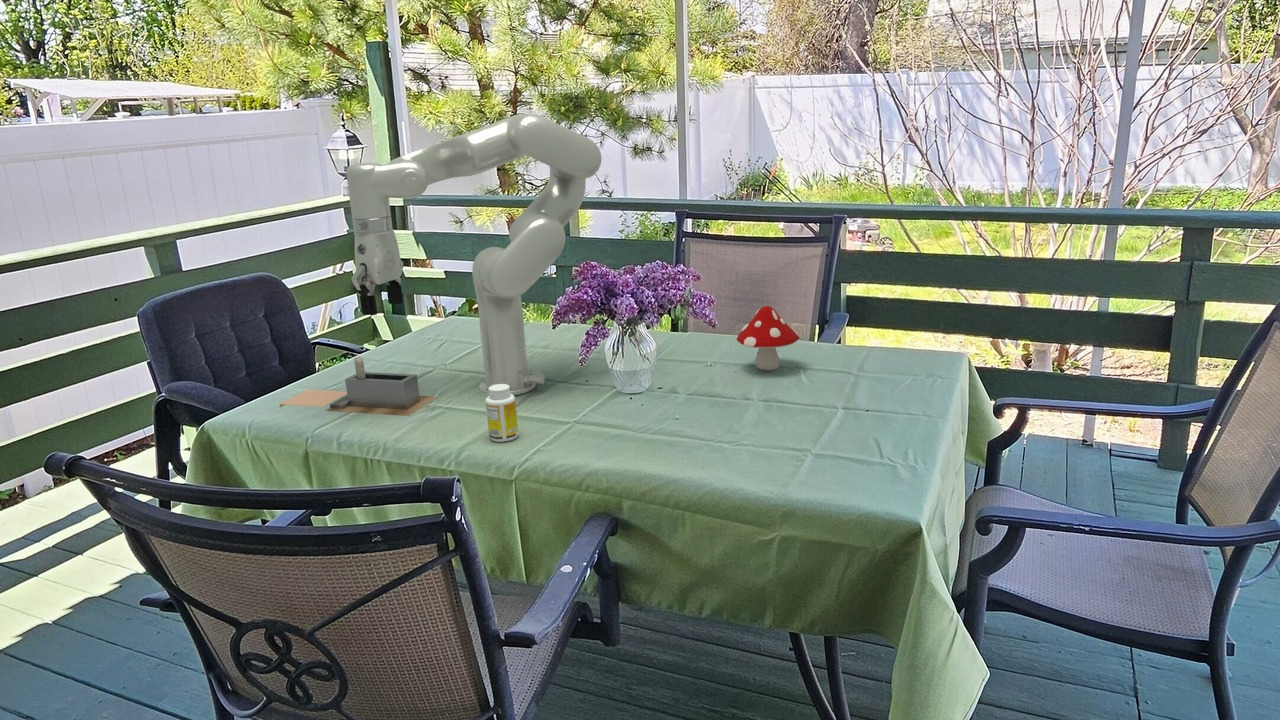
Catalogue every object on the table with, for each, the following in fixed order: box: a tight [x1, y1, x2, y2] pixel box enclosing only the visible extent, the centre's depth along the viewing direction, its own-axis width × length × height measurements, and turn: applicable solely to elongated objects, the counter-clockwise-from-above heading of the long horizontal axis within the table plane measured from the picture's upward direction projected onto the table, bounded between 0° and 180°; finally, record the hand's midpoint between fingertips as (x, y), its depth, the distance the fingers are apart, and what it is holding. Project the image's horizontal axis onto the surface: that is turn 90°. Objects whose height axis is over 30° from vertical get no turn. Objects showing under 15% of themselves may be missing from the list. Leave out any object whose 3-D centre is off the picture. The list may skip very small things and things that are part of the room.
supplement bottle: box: [485, 384, 519, 443], centre depth 170 cm, size 6×6×10 cm
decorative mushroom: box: [736, 305, 800, 372], centre depth 203 cm, size 14×14×15 cm
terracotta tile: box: [279, 389, 347, 408], centre depth 198 cm, size 11×10×1 cm
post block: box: [325, 356, 438, 417], centre depth 191 cm, size 20×12×11 cm, turn 73°
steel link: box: [344, 371, 421, 410], centre depth 191 cm, size 14×5×6 cm, turn 73°
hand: (383, 309), depth 185 cm, fingers open, 9 cm apart
